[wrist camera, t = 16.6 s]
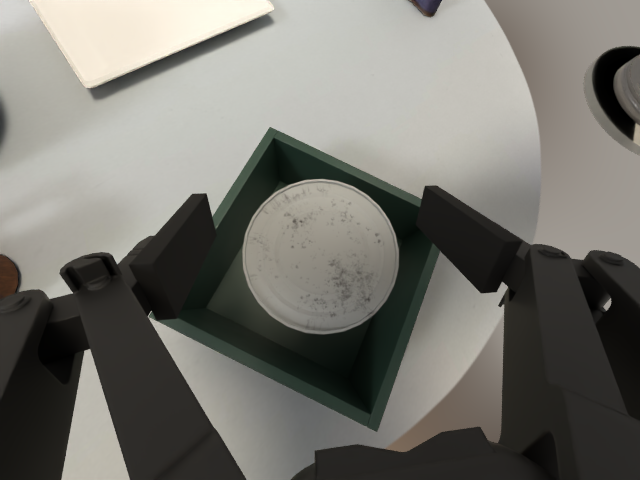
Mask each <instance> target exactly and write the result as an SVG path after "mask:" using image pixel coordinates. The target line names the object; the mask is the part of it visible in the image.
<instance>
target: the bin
mask: <svg viewBox="0 0 640 480" xmlns="http://www.w3.org/2000/svg"><path fill="white" fill-rule="evenodd" d="M313 179H326V180H334V181H339V182H342V183H345V184H348V185H351V186H353V187H355V188H357V189H358V190H360V191H362V192H363V193H365V194H367V195H368V196H369V197H370V198H371V199H372V200H373V201H375V202H376V203H377V204H378V205H379V206H380V208H381V209H382V210H383V212H384V213H385V215H386V216H387V217H388V219H389V221H390V223H391V225H392V227H393V230H394V232H395V234H396V239H397V244H398V249H399V268H398V272H397V276H396V280H395V284H394V287H393V289H392V291H391V292H390V294H389V296H388V298H387V300H386V301H385V303H384V304H383V305H382V306H381V307H380V309H379V310H378V311H377V312H376V313H375V314H374V315H373V316H371V317H370V318H369V319H367V320H366V321H364V322H363V323H362V324H360V325H358V326H356V327H353V328H351V329H348V330H346V331H343V332H337V333H331V334H314V333H305V332H302V331H299V330H296V329H293V328H290V327H287V326H286V325H284V324H283V323H281V322H279V321H278V320H276V319H275V318H273V317H272V316H270V315H269V313H268V312H267V311H266V310H265V309H264V308H263V307H262V306H261V305H260V304H259V303H258V302H257V300H256V298H255V297H254V295H253V293H252V291H251V290H250V288H249V286H248V283H247V280H246V276H245V273H244V270H243V256H242V249H243V243H244V238H245V233H246V230H247V228H248V226H249V223H250V221H251V219H252V217H253V215H254V214H255V213H256V211H257V210H258V209H259V207H260V206H261V205H262V203H264V202H265V201H266V200H267V199H268V198H269V197H270V196H272V195H273V194H274V193H275V192H277V191H279V190H281V189H282V188H284V187H286V186H288V185H290V184H294V183H297V182H300V181H304V180H313ZM421 201H422V199H420V198H418V197H416V196H414V195H412V194H410V193H407V192H405V191H403V190H401V189H399V188H397V187H395V186H393V185H391V184H389V183H387V182H384V181H382V180H380V179H378V178H376V177H374V176H372V175H370V174H368V173H366V172H363V171H361V170H359V169H357V168H355V167H353V166H351V165H349V164H347V163H345V162H343V161H340V160H338V159H336V158H334V157H332V156H330V155H328V154H326V153H324V152H322V151H320V150H317V149H315V148H313V147H311V146H309V145H307V144H305V143H303V142H301V141H299V140H296V139H294V138H292V137H290V136H288V135H286V134H284V133H282V132H280V131H277V130H275V129H273V128H271V127H270V128H269V129H268V131H267V132H266V134H265V136H264V137H263V139H262V140H261V142H260V143H259V145H258V147H257V148H256V150H255V151H254V153H253V154H252V156H251V157H250V159H249V161H248V162H247V164H246V165H245V167H244V168H243V170H242V172H241V173H240V175H239V176H238V178H237V179H236V181H235V182H234V184H233V186H232V187H231V189H230V190H229V192H228V193H227V195H226V197H225V198H224V200H223V201H222V203H221V204H220V206H219V207H218V209H217V211H216V212H215V214H214V215H213V217H212V218H213V222H214V226H215V230H216V234H217V236H216V238H215V240H214V242H213V244H212V246H211V248H210V250H209V253H208V255H207V257H206V259H205V261H204V263H203V265H202V267H201V269H200V271H199V274H198V276H197V278H196V280H195V282H194V284H193V286H192V288H191V290H190V292H189V295H188V297H187V299H186V301H185V303H184V305H183V307H182V309H181V311H180V313H179V316H178V318H177V319H170V320H158V322H160V323H162V324H164V325H166V326H168V327H170V328H172V329H174V330H176V331H178V332H180V333H182V334H184V335H186V336H188V337H190V338H192V339H194V340H196V341H198V342H200V343H202V344H204V345H206V346H208V347H210V348H212V349H213V350H215V351H217V352H219V353H221V354H223V355H225V356H227V357H229V358H231V359H233V360H235V361H237V362H239V363H241V364H243V365H245V366H247V367H249V368H251V369H253V370H255V371H257V372H259V373H261V374H263V375H265V376H267V377H269V378H271V379H273V380H275V381H277V382H279V383H281V384H283V385H285V386H287V387H289V388H291V389H293V390H295V391H297V392H299V393H301V394H303V395H305V396H307V397H309V398H311V399H313V400H315V401H317V402H319V403H321V404H323V405H325V406H327V407H329V408H331V409H333V410H335V411H336V412H338V413H340V414H342V415H344V416H346V417H348V418H350V419H352V420H354V421H356V422H358V423H360V424H362V425H364V426H367V427H368V428H370V429H372V430H374V431H376V432H377V431H378V428H379V425H380V422H381V419H382V416H383V413H384V411H385V408H386V405H387V402H388V399H389V396H390V393H391V390H392V388H393V385H394V382H395V379H396V376H397V373H398V370H399V367H400V365H401V362H402V359H403V356H404V353H405V350H406V347H407V344H408V342H409V339H410V336H411V333H412V330H413V327H414V324H415V321H416V318H417V316H418V313H419V310H420V307H421V304H422V301H423V298H424V295H425V293H426V290H427V287H428V284H429V281H430V278H431V275H432V272H433V270H434V267H435V264H436V261H437V258H438V255H439V252H440V250H439V249H438V248H437V247H436V246H435V245H434V244H433V243H432V242H431V240H430V239H429V238H428V237H427V236H426V235H425V234H424V233H423V232H422V231H421V230H420V229H419V228H418V227H417V226H416V222H417V217H418V213H419V209H420V205H421ZM149 317H150V318H152V319H154V320H156V319H155V317H154V315H153V313H152V312H151V314H150V315H149Z"/></svg>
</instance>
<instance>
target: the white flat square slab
mask: <svg viewBox="0 0 640 480" xmlns="http://www.w3.org/2000/svg"><path fill="white" fill-rule="evenodd" d="M29 1H30V3H31V5H32V6H33V8H34V9H35V11H36V12H37V14H38V15H39V17H40V19H41V20H42V22H43V23H44V25H45V26H46V28H47V29H48V31H49V33H50V34H51V36H52V37H53V39H54V40H55V42H56V44H57V45H58V47H59V48H60V50H61V51H62V53H63V54H64V56H65V58H66V59H67V61H68V62H69V64H70V65H71V67H72V69H73V70H74V72H75V73H76V75H77V76H78V78H79V79H80V81H81V83H82V84H83V86H84V87H86V88H94V87H97V86H99V85H101V84H104V83H106V82H108V81H111V80H113V79H115V78H118V77H120V76H122V75H125V74H127V73H130V72H132V71H134V70H137V69H139V68H141V67H144V66H146V65H148V64H151V63H153V62H155V61H158V60H160V59H162V58H165V57H167V56H169V55H172V54H174V53H177V52H179V51H181V50H184V49H186V48H188V47H191V46H193V45H195V44H198V43H200V42H202V41H205V40H207V39H209V38H212V37H214V36H216V35H219V34H221V33H223V32H226V31H228V30H231V29H233V28H235V27H238V26H240V25H242V24H245V23H247V22H249V21H252V20H254V19H256V18H259V17H261V16H263V15H266V14H268V13H270V12H272V11H273V9H274V6H273V5H272V4H271V3H270V2H269V0H29Z"/></svg>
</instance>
